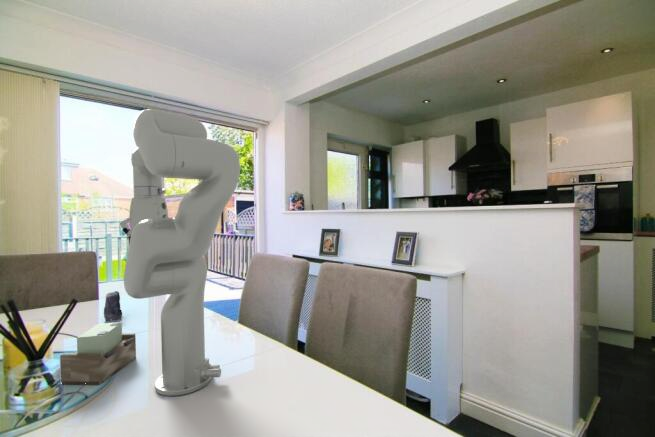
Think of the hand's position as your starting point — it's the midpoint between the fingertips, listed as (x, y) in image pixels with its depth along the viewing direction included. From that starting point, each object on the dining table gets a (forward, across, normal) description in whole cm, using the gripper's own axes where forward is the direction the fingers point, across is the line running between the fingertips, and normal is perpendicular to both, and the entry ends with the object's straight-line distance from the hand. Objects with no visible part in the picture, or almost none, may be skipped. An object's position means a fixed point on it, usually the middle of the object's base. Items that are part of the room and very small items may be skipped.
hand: (149, 249), depth 98 cm
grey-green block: (+24, +5, +14) cm, 29 cm away
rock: (+31, +33, -28) cm, 53 cm away
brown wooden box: (+30, +5, +14) cm, 34 cm away
